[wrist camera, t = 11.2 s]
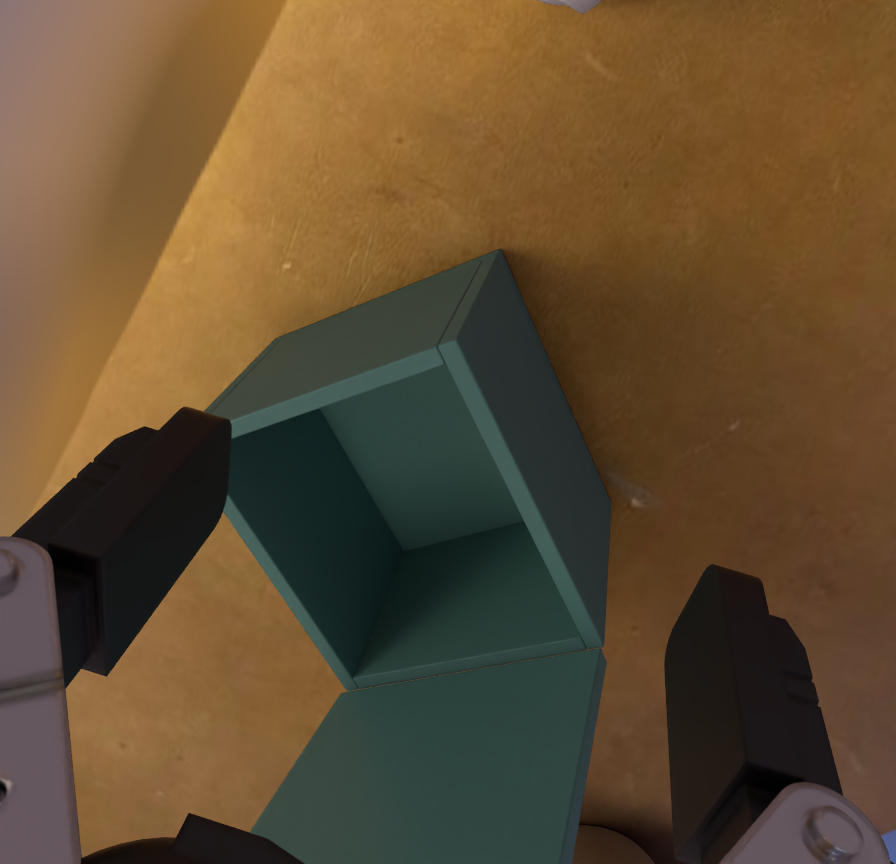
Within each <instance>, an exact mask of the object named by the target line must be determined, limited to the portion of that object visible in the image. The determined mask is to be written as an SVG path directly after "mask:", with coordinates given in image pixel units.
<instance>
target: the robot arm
mask: <svg viewBox="0 0 896 864" xmlns="http://www.w3.org/2000/svg"><path fill="white" fill-rule="evenodd" d="M231 439H232V425H231V422H230V420H229V419H226V418H223V417H219V416H216V415H213V414H209V413H206V412H203V411H199V410H196V409H193V408H189V407H183V408H181V409H180V410H179V411H178V412H177V413H176V414H175V415H174V416H173V417H172V418H171V419H170V420H169V421H168V422H167V423H166V424H165V425H164V426H163V427H162V428H161V429H160V430H155V429H152V428H148V427H145V426H144V427H142V428H139V429H137V430H135V431H133V432H130V433H128V434H126V435H123V436H121V437H119V438H117V439H115V440H113V441H112V442H111V443H110V444H109V445H108V446H107V447H106V448H105V449H104V450H103V451H102V452H101V453H100V454H98V455H97V456H96V457H95V458H94V461H93V463H91V462H90V463H89V464H88V465H87V466H86V467H85V468H83V469H82V470H81V471H80V472H79V473H78V475H77V478H76V479H75V478H73V479H72V480H71V481H70V482H68V483H67V484H66V485H65V486H64V487H63V488H62V489H61V490H60V491H59V492H58V493H57V494H56V495H55V496H53V497H52V498H51V499H50V500H49V501H48V502H47V503H46V504H45V505H44V506H43V507H42V508H41V509H40V510H39V511H37V512H36V513H35V514H34V515H33V516H32V517H31V518H30V519H29V520H28V521H27V522H26V523H25V524H24V525H22V526H21V527H20V528H19V529H18V530H17V531H16V532H15V533H14V534H13V535H12V536H10V537H0V864H305V863H303V862H302V861H300V860H299V859H297V858H296V857H294V856H293V855H291V854H290V853H288V852H287V851H285V850H284V849H282V848H281V847H279V846H278V845H276V844H275V843H273V842H272V841H270V840H269V839H267V838H264V837H261V836H258V835H255V834H252V833H249V832H246V831H243V830H240V829H237V828H234V827H231V826H228V825H224V824H221V823H218V822H215V821H212V820H209V819H206V818H203V817H200V816H197V815H194V814H191V813H189V814H188V815H187V817H186V819H185V821H184V823H183V825H182V827H181V829H180V831H179V833H178V835H177V837H176V838H169V837H162V838H151V839H141V840H136V841H131V842H126V843H122V844H118V845H115V846H112V847H109V848H106V849H103V850H100V851H97V852H94V853H92V854H90V855H88V856H85V857H83V858H82V855H81V845H80V835H79V825H78V815H77V805H76V794H75V784H74V773H73V763H72V753H71V742H70V732H69V721H68V711H67V701H66V690H65V689H66V687H67V686H68V685H69V684H70V682H71V681H72V680H73V678H74V677H75V676H76V674H77V673H78V672H79V671H80V669H84V670H88V671H91V672H94V673H97V674H100V675H103V676H108V674H109V673H110V671H111V670H112V669H113V667H114V666H115V665H116V663H117V662H118V660H119V659H120V658H121V656H122V655H123V654H124V652H125V651H126V649H127V648H128V647H129V645H130V644H131V643H132V641H133V640H134V638H135V637H136V636H137V634H138V633H139V632H140V630H141V629H142V627H143V626H144V625H145V623H146V622H147V621H148V619H149V618H150V616H151V615H152V614H153V612H154V611H155V610H156V608H157V607H158V605H159V604H160V603H161V601H162V600H163V599H164V597H165V596H166V594H167V593H168V592H169V590H170V589H171V588H172V586H173V585H174V583H175V582H176V581H177V579H178V578H179V577H180V575H181V574H182V572H183V571H184V570H185V568H186V567H187V566H188V564H189V563H190V561H191V560H192V559H193V557H194V556H195V555H196V553H197V552H198V550H199V549H200V548H201V546H202V545H203V544H204V542H205V541H206V539H207V538H208V537H209V535H210V534H211V532H212V531H213V530H214V528H215V527H216V525H217V523H218V522H219V519H220V517H221V515H222V513H223V510H224V507H225V504H226V500H227V494H228V483H229V468H230V454H231ZM664 667H665V687H666V706H667V725H668V744H669V763H670V782H671V801H672V820H673V839H674V858H675V860H678V861H681V862H684V863H687V864H894V863H893V862H891V861H890V858H889V854H888V851H887V848H886V846H885V844H884V841H883V839H882V838H881V836H880V834H879V832H878V831H877V829H876V828H875V827H874V825H873V824H872V822H871V821H870V820H869V819H868V818H867V817H866V815H865V814H864V813H863V812H862V811H861V810H860V809H859V808H858V807H856V806H855V805H854V804H853V803H852V802H850V801H849V800H848V799H846V798H845V797H844V796H843V793H842V789H841V785H840V781H839V777H838V774H837V770H836V766H835V762H834V758H833V754H832V750H831V747H830V743H829V739H828V735H827V731H826V727H825V723H824V719H823V716H822V712H821V708H820V707H818V702H819V700H818V696H817V692H816V688H815V685H814V683H812V678H813V677H812V673H811V669H810V665H809V661H808V658H807V654H806V650H805V648H804V646H803V645H802V643H801V642H800V640H799V639H798V637H797V636H796V634H795V633H794V631H793V630H792V628H791V627H790V625H789V624H788V622H787V621H786V619H782V618H779V617H776V616H772V615H769V610H768V606H767V601H766V597H765V592H764V587H763V584H762V581H761V580H760V579H759V578H757V577H754V576H751V575H747V574H744V573H741V572H737V571H734V570H730V569H727V568H724V567H720V566H717V565H714V564H712V565H710V566H708V567H707V568H706V570H705V571H704V573H703V574H702V576H701V578H700V580H699V582H698V583H697V585H696V587H695V589H694V591H693V592H692V594H691V596H690V598H689V600H688V602H687V603H686V605H685V607H684V609H683V611H682V613H681V614H680V616H679V618H678V620H677V622H676V623H675V625H674V627H673V629H672V632H671V634H670V637H669V640H668V644H667V648H666V654H665V664H664Z"/></svg>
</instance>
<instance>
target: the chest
mask: <svg viewBox="0 0 896 864" xmlns="http://www.w3.org/2000/svg"><path fill="white" fill-rule="evenodd" d="M204 412H206V413H209V414H213V415H216V416H219V417H223V418H226V419H229V420H230V422H231V425H232V439H231V454H230V468H229V483H228V494H227V500H226V504H225V507H224V510H223V512H224V513H225V515H226V516H227V518H228V519H229V520H230V522H231V523H232V525H233V526H234V528H235V529H236V531H237V532H238V534H239V535H240V536H241V538H242V539H243V541H244V542H245V544H246V545H247V547H248V548H249V550H250V551H251V552H252V554H253V555H254V557H255V558H256V560H257V561H258V563H259V564H260V566H261V567H262V568H263V570H264V571H265V573H266V574H267V576H268V577H269V579H270V580H271V581H272V583H273V584H274V586H275V587H276V589H277V590H278V592H279V593H280V595H281V596H282V597H283V599H284V600H285V602H286V603H287V605H288V606H289V608H290V609H291V611H292V612H293V613H294V615H295V616H296V618H297V619H298V621H299V622H300V624H301V625H302V627H303V628H304V629H305V631H306V632H307V634H308V635H309V637H310V638H311V640H312V641H313V642H314V644H315V645H316V647H317V648H318V650H319V651H320V653H321V654H322V656H323V657H324V658H325V660H326V661H327V663H328V664H329V666H330V667H331V669H332V670H333V672H334V673H335V674H336V676H337V677H338V679H339V680H340V682H341V683H342V685H343V686H344V688H345V689H346V690H347V691H351V690H357V689H359V688H360V689H364V688H369V687H375V686H381V685H387V684H392V683H398V682H404V681H410V680H416V679H421V678H427V677H433V676H439V675H445V674H450V673H456V672H462V671H468V670H473V669H479V668H485V667H491V666H497V665H502V664H508V663H514V662H520V661H525V660H531V659H537V658H543V657H549V656H554V655H560V654H566V653H572V652H577V651H583V650H587V649H593V648H599V647H603V646H604V639H605V619H606V598H607V578H608V558H609V538H610V518H611V502H610V500H609V497H608V495H607V493H606V490H605V488H604V486H603V483H602V481H601V479H600V476H599V474H598V472H597V470H596V467H595V465H594V463H593V460H592V458H591V456H590V453H589V451H588V449H587V446H586V444H585V442H584V440H583V437H582V435H581V433H580V430H579V428H578V426H577V423H576V421H575V419H574V416H573V414H572V412H571V410H570V407H569V405H568V403H567V400H566V398H565V396H564V393H563V391H562V389H561V387H560V384H559V382H558V380H557V377H556V375H555V373H554V370H553V368H552V366H551V363H550V361H549V359H548V357H547V354H546V352H545V350H544V347H543V345H542V343H541V340H540V338H539V336H538V333H537V331H536V329H535V327H534V324H533V322H532V320H531V317H530V315H529V313H528V310H527V308H526V306H525V303H524V301H523V299H522V297H521V294H520V292H519V290H518V287H517V285H516V283H515V280H514V278H513V276H512V274H511V271H510V269H509V267H508V264H507V262H506V260H505V257H504V255H503V253H502V250H501V249H498V250H496V251H493V252H491V253H488V254H486V255H483V256H481V257H478V258H476V259H473V260H471V261H468V262H466V263H463V264H461V265H458V266H456V267H453V268H451V269H448V270H446V271H443V272H441V273H438V274H436V275H433V276H431V277H428V278H426V279H423V280H421V281H418V282H416V283H413V284H411V285H408V286H406V287H403V288H401V289H398V290H396V291H393V292H391V293H388V294H386V295H383V296H381V297H378V298H376V299H373V300H371V301H368V302H366V303H363V304H361V305H358V306H356V307H353V308H351V309H348V310H346V311H343V312H341V313H338V314H336V315H333V316H331V317H329V318H326V319H324V320H321V321H319V322H316V323H314V324H311V325H309V326H306V327H304V328H301V329H299V330H296V331H294V332H291V333H289V334H286V335H284V336H281V337H279V338H276V339H274V340H273V341H272V342H271V343H270V344H269V345H268V346H267V347H266V348H265V349H264V350H263V351H262V352H261V353H260V355H259V356H258V357H257V358H256V359H255V360H254V361H253V362H252V363H251V364H250V365H249V366H248V367H247V368H246V369H245V370H244V371H243V372H242V373H241V374H240V375H239V376H238V377H237V378H236V379H235V380H234V381H233V382H232V383H231V384H230V385H229V386H228V387H227V388H226V389H225V390H224V391H223V392H222V393H221V394H220V395H219V396H218V397H217V398H216V399H215V400H214V401H213V402H212V404H211V405H210V406H209V407H208V408H207V409H206V410H205V411H204Z"/></svg>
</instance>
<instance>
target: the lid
mask: <svg viewBox="0 0 896 864" xmlns="http://www.w3.org/2000/svg"><path fill="white" fill-rule="evenodd" d="M606 664H607V662H606V659H605V657H604V654H603V652H602V649H600V648H599V649H593V650H588V651H582V652H576V653H570V654H565V655H559V656H553V657H547V658H541V659H536V660H530V661H524V662H518V663H512V664H507V665H501V666H495V667H489V668H483V669H478V670H472V671H466V672H460V673H454V674H449V675H443V676H437V677H431V678H425V679H420V680H414V681H408V682H402V683H396V684H391V685H385V686H379V687H373V688H367V689H362V690H356V691H350V692H344V693H341V694H340V695H339V697H338V698H337V700H336V702H335V703H334V705H333V706H332V708H331V709H330V711H329V712H328V714H327V715H326V717H325V718H324V720H323V721H322V723H321V724H320V726H319V727H318V729H317V730H316V732H315V734H314V735H313V737H312V738H311V740H310V741H309V743H308V744H307V746H306V747H305V749H304V750H303V752H302V753H301V755H300V756H299V758H298V759H297V761H296V762H295V764H294V766H293V767H292V769H291V770H290V772H289V773H288V775H287V776H286V778H285V779H284V781H283V782H282V784H281V785H280V787H279V788H278V790H277V791H276V793H275V794H274V796H273V798H272V799H271V801H270V802H269V804H268V805H267V807H266V808H265V810H264V811H263V813H262V814H261V816H260V817H259V819H258V820H257V822H256V823H255V825H254V826H253V828H252V830H251V831H250V833H252V834H255V835H258V836H261V837H264V838H267V839H269V840H270V841H272V842H273V843H275V844H276V845H278V846H279V847H281V848H282V849H284V850H285V851H287V852H288V853H290V854H291V855H293V856H294V857H296V858H297V859H299V860H300V861H302V862H303V863H305V864H572V860H573V854H574V848H575V843H576V837H577V831H578V825H579V820H580V814H581V808H582V802H583V796H584V791H585V785H586V779H587V773H588V768H589V762H590V756H591V750H592V745H593V739H594V733H595V727H596V721H597V716H598V710H599V704H600V698H601V693H602V687H603V681H604V675H605V670H606Z"/></svg>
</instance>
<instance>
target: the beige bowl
mask: <svg viewBox="0 0 896 864" xmlns="http://www.w3.org/2000/svg"><path fill="white" fill-rule="evenodd" d="M572 864H655V863H654V862H653V860H652V859H651V858H650V857H649V856H648V855H647V853H646V852H645V851H644V850H643V849H642V848H640V847H639V846H638V845H637V844H636V843H635V842H633V841H632V840H630V839H629V838H627V837H625V836H624V835H621V834H619V833H617V832H615V831H612V830H609V829H606V828H602V827H596V826H590V825H578V831H577V837H576V843H575V848H574V854H573V860H572Z"/></svg>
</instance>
